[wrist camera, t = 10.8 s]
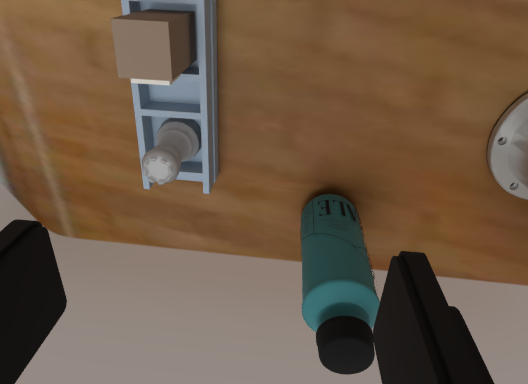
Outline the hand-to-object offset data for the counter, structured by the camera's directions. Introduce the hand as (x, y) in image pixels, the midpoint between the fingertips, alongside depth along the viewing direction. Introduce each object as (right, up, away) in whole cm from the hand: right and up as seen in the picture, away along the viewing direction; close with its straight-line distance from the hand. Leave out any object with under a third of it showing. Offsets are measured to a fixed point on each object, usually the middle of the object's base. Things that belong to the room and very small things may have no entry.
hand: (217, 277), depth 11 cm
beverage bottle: (+9, 0, +34) cm, 35 cm away
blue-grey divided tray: (-7, +12, +28) cm, 32 cm away
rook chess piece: (-7, +8, +29) cm, 31 cm away
